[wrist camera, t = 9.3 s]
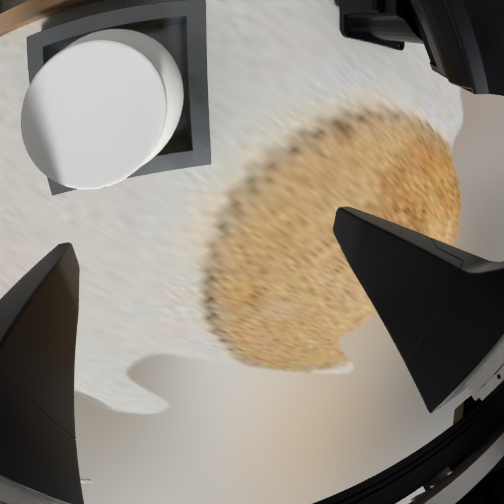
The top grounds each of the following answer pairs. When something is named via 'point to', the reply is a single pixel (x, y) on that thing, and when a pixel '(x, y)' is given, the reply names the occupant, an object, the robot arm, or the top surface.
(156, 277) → the top surface
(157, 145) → the pill bottle
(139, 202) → the top surface
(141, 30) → the dark metal seat block
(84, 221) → the top surface
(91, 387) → the top surface
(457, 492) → the robot arm
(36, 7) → the walnut collar
